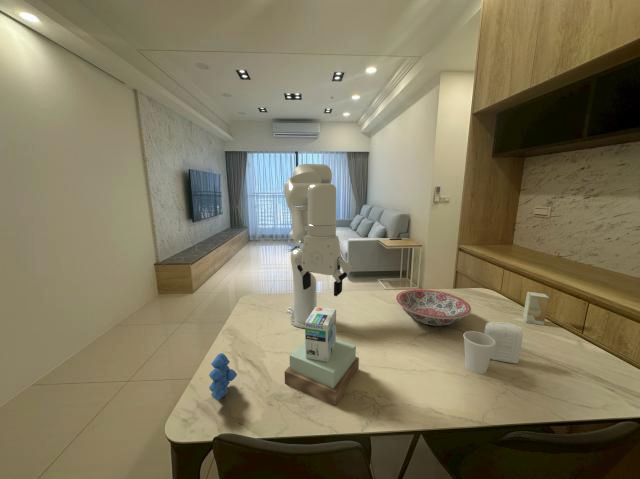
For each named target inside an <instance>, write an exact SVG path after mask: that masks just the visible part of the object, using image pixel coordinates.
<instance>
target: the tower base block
mask: <svg viewBox="0 0 640 479" xmlns="http://www.w3.org/2000/svg"><path fill="white" fill-rule="evenodd" d="M359 363H360V358H359V356H356V359H355V361H354V362H353V363H352V365H351V366H350V367H349V369H348V370H347V371H346V373H345V374H344V375H343V377H342V378H341V379H340V380H339V382H338V383H337V384H336V386H335V387H334V388H331V387H329V386H326V385H324V384H322V383H320V382H317V381H315V380H313V379H310V378H308V377H306V376H303V375H301V374H299V373H296V372H294V371H292V370H290V365H289V366H288V367H287V368H286V369H285V370H284V384H285V385H287V386H290V387H291V388H294V389H296V390H298V391H301V392H303V393H304V394H305V393H306V394H308V395H309V396H312V397H314V398H316V399H319V400H322V401H323V402H325V403H328V404H330V405H332V406H335V407H336V406H337V404H338V402H339V401H340V399H341V398H342V396H343V395H344V393H345V392H346V390H347V388H348V387H349V385H350V384H351V382H352V381H353V379H354V377H355V376H356V374H357V372H358V371H359V368H360V367H359V366H360V365H359Z"/></svg>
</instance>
